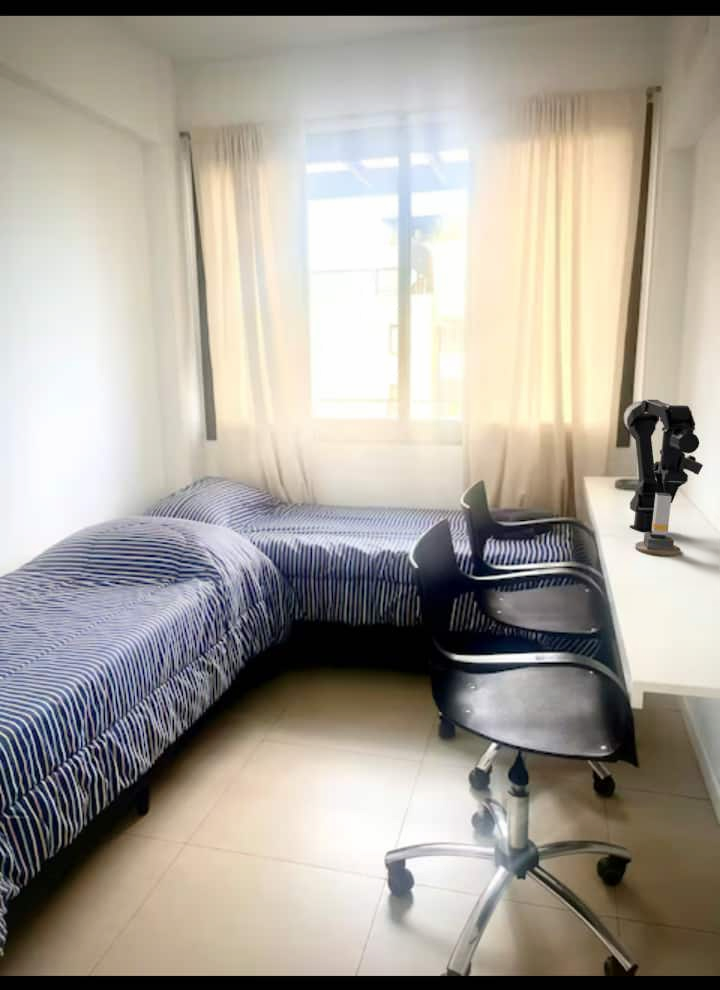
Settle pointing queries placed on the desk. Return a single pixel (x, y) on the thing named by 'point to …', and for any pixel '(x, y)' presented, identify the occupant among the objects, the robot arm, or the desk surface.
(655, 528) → the post
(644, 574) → the desk surface
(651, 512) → the robot arm
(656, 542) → the stand base
